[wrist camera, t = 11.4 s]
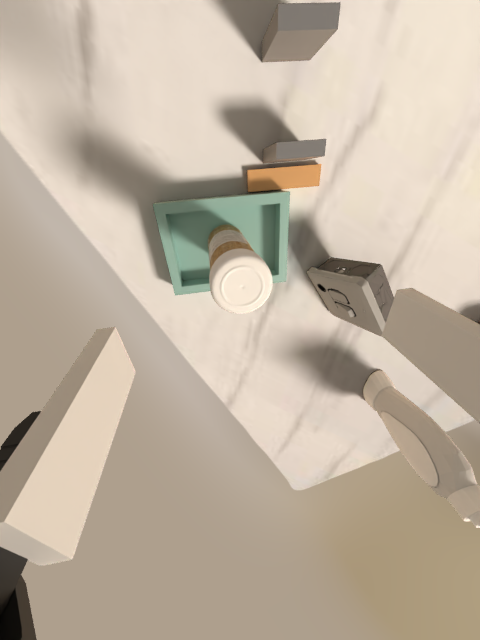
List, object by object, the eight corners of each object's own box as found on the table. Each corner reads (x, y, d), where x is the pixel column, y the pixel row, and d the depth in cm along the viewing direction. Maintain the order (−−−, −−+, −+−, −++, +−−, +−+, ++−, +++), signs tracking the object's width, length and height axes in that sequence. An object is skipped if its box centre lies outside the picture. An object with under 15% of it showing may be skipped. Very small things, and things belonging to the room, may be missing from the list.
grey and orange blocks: (241, 42, 19) (251, 4, 15) (330, 39, 20) (365, 1, 16) (247, 191, 25) (257, 194, 21) (316, 185, 26) (339, 186, 22)
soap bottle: (393, 399, 51) (523, 549, 30) (359, 408, 51) (467, 564, 30) (403, 357, 44) (581, 515, 23) (364, 368, 44) (509, 535, 23)
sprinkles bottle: (243, 262, 29) (270, 314, 17) (207, 262, 28) (210, 317, 17) (245, 223, 26) (277, 255, 15) (205, 222, 26) (208, 255, 14)
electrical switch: (303, 269, 31) (345, 294, 23) (334, 244, 30) (389, 261, 22) (330, 313, 36) (372, 347, 28) (358, 293, 35) (409, 321, 27)
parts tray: (156, 202, 24) (152, 204, 22) (282, 190, 26) (289, 191, 24) (177, 287, 30) (175, 295, 28) (280, 274, 31) (286, 281, 29)
